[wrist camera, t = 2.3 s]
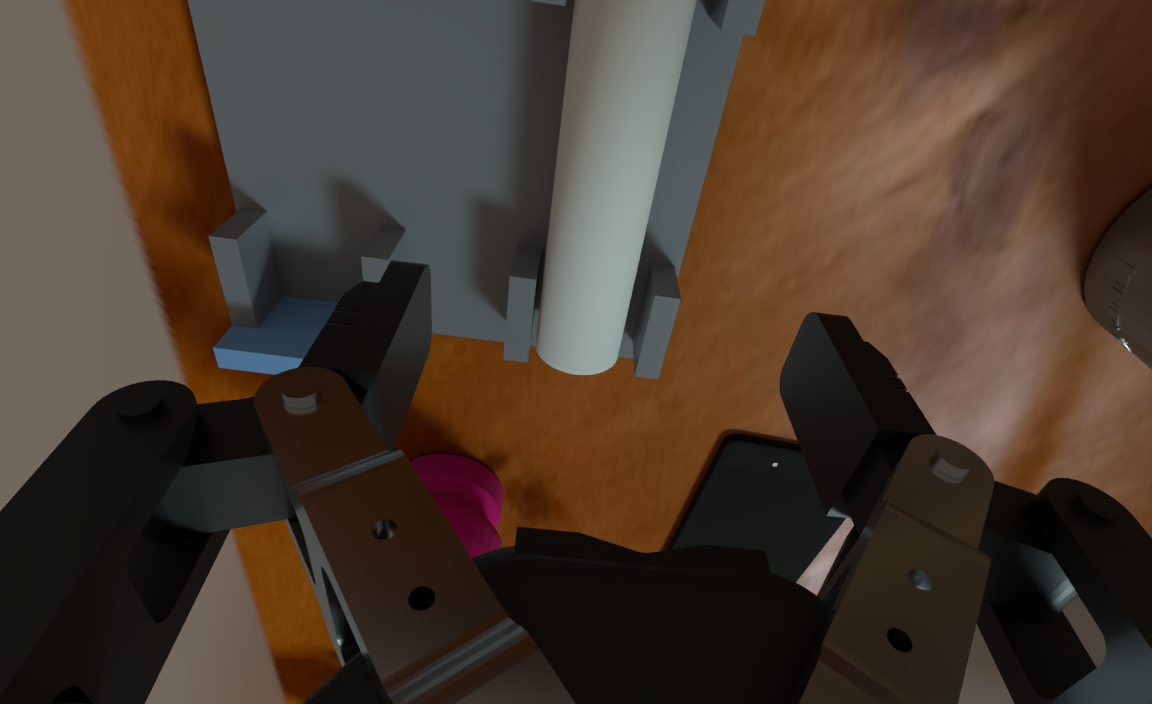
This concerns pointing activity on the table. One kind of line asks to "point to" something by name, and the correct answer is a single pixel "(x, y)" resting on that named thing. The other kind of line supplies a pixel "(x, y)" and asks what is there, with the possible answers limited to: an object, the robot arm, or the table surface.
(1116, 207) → the table surface
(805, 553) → the cell phone
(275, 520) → the robot arm
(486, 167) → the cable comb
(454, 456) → the pepper mill
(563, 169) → the white rounded capsule
